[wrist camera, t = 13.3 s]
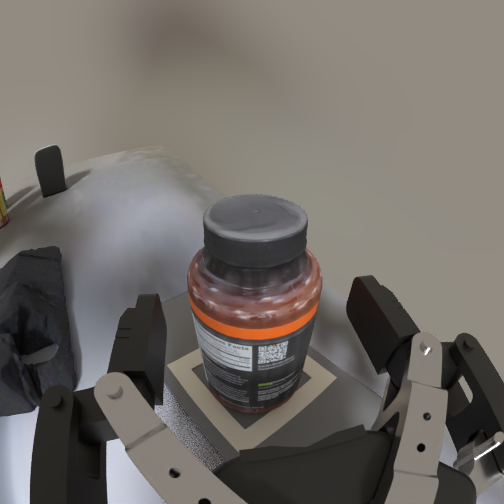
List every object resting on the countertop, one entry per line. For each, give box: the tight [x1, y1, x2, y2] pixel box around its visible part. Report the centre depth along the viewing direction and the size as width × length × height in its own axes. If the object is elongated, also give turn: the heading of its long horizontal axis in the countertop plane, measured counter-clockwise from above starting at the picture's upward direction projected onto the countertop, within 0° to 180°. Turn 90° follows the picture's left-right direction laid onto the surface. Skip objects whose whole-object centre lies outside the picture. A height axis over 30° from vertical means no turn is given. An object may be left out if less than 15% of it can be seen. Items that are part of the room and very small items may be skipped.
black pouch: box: [0, 246, 76, 416], centre depth 18 cm, size 15×22×5 cm
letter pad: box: [161, 291, 382, 461], centre depth 17 cm, size 20×10×1 cm, turn 40°
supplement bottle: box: [187, 194, 322, 413], centre depth 13 cm, size 6×6×11 cm
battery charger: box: [34, 144, 67, 197], centre depth 48 cm, size 7×4×11 cm, turn 126°
